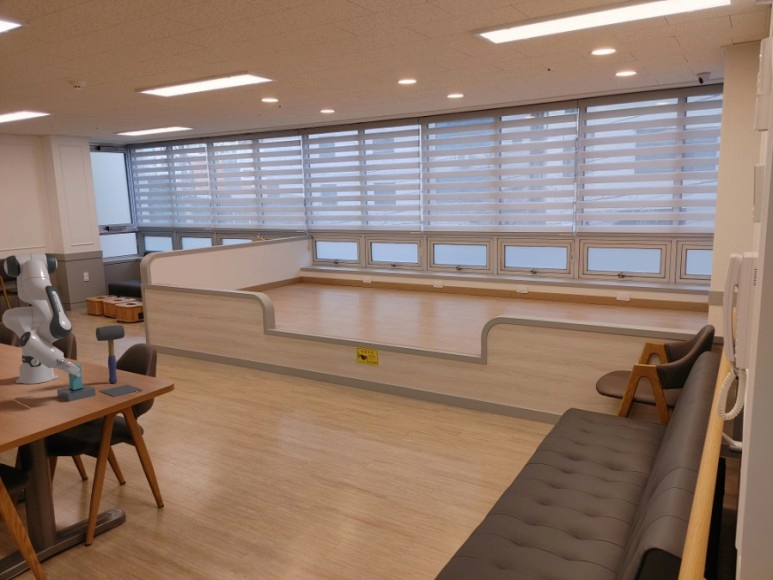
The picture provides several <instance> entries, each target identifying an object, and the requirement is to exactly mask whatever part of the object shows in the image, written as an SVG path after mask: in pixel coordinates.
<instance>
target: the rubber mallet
mask: <svg viewBox="0 0 773 580" xmlns="http://www.w3.org/2000/svg"><path fill="white" fill-rule="evenodd" d="M95 337H96V340H97V341H98V342H107V345H108V347H107V348H108V350H107V351H108V356H107V367H108V375H109V377H108V383H114V384H116V383H117V382H118V377H117V360H116V355H115V343H114V341H115V340H121V339H124V337H125V327H124V326H123V325H122V324H119V325H118V324H117V325H116V324H115V325H106V326H100V327H96V329H95Z"/></svg>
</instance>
